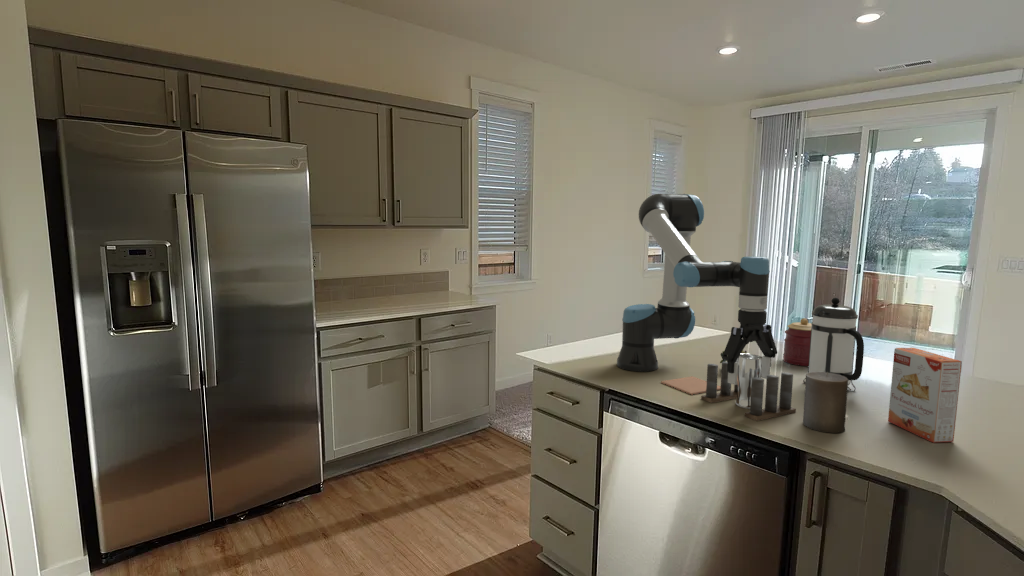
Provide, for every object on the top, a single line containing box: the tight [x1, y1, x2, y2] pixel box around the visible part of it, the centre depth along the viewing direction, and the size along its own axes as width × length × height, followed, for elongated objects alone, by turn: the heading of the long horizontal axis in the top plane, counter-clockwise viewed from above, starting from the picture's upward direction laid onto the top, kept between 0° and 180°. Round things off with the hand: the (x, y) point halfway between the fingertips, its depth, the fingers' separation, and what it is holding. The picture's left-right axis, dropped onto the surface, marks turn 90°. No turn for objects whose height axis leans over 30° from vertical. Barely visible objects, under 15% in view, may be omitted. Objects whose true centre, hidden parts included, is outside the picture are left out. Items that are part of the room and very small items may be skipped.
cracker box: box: [887, 347, 963, 443], centre depth 132 cm, size 14×6×21 cm, turn 5°
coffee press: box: [802, 297, 865, 392], centre depth 168 cm, size 17×16×30 cm
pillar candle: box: [802, 372, 849, 434], centre depth 136 cm, size 10×10×15 cm
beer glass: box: [735, 353, 762, 410], centre depth 152 cm, size 7×7×15 cm
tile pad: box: [660, 375, 721, 396], centre depth 171 cm, size 14×14×1 cm
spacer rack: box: [700, 360, 797, 422], centre depth 152 cm, size 20×16×11 cm
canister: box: [782, 318, 812, 367], centre depth 201 cm, size 13×13×18 cm
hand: (748, 381), depth 152 cm, fingers open, 13 cm apart
